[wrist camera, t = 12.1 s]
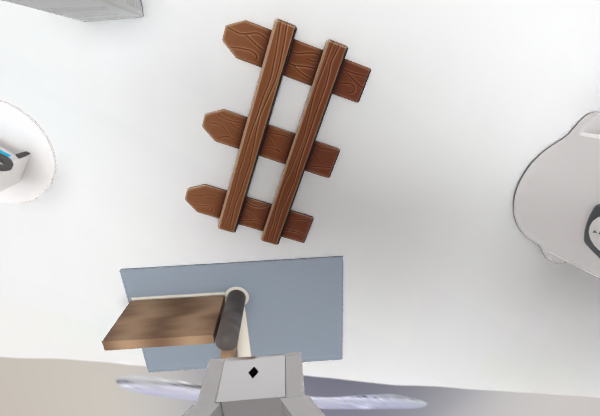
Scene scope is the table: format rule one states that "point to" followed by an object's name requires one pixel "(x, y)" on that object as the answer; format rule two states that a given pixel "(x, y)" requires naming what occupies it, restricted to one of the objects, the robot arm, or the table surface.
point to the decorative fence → (271, 140)
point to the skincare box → (87, 8)
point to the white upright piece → (23, 157)
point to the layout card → (253, 307)
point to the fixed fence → (179, 323)
